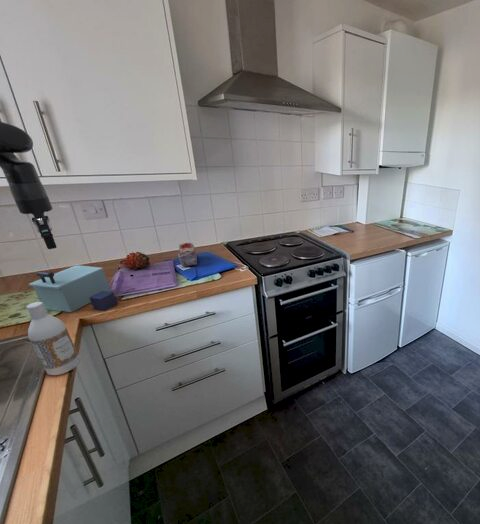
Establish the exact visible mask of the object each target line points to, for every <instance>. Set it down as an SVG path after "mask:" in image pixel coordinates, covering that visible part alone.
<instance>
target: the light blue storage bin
mask: <svg viewBox="0 0 480 524" xmlns="http://www.w3.org/2000/svg"><path fill="white" fill-rule="evenodd" d="M32 287H33V289H34V291H35V294H36V296H37V298H38V300H39V302H43V304H44V306H45V308H46V310H50V311H51V310H53V311H58V312H67V313H73V312H75V311H77V310H79V309H80V308H83V307H84V306H86V305H88V304H90V303H91V300H90V298H89V297H91V296H93V295H95V294H97V293H99V292H101V291H108V292H112V290H111V287H110V285H109V281H108V279H107V276H106V273H105V270H104V269H103V270H101V271H99V272H96V273H94V274H92V275H90V276H87V277H85V278H83V279H80V280H78V281H76V282H74V283H71V284H69V285H67V286H64V287H62V288H60V289H53V288H45V287H37V286H32Z"/></svg>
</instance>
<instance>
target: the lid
mask: <svg viewBox="0 0 480 524" xmlns="http://www.w3.org/2000/svg"><path fill="white" fill-rule="evenodd" d="M101 270H104V267H98V266H88V265H79V264H76V265H73V266H71V267H68V268H65V269H63V270H60V271H57V272H55V273H54V272H50V271H43V270H42V271H41V270H39V271H37V272H36V276H38V277H40V278H39V279H37V280H34V281H32V282H30V283H28V286H30V287H33V286H37V287H45V288H53V289H60V288H62V287H64V286H67V285H69V284H71V283H74V282H76V281H78V280H80V279H83V278H85V277H87V276H90V275H92V274H94V273H96V272H99V271H101Z"/></svg>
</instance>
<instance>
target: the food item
mask: <svg viewBox="0 0 480 524" xmlns="http://www.w3.org/2000/svg"><path fill="white" fill-rule="evenodd" d="M177 257H178V260H179V263H180V264H181V266H182V267H192V266H193V267H194V266H197V265H198V256H197V251H196V248H195V245H194V243H192V242H183V243H180V244H179V245H178V251H177Z"/></svg>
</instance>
